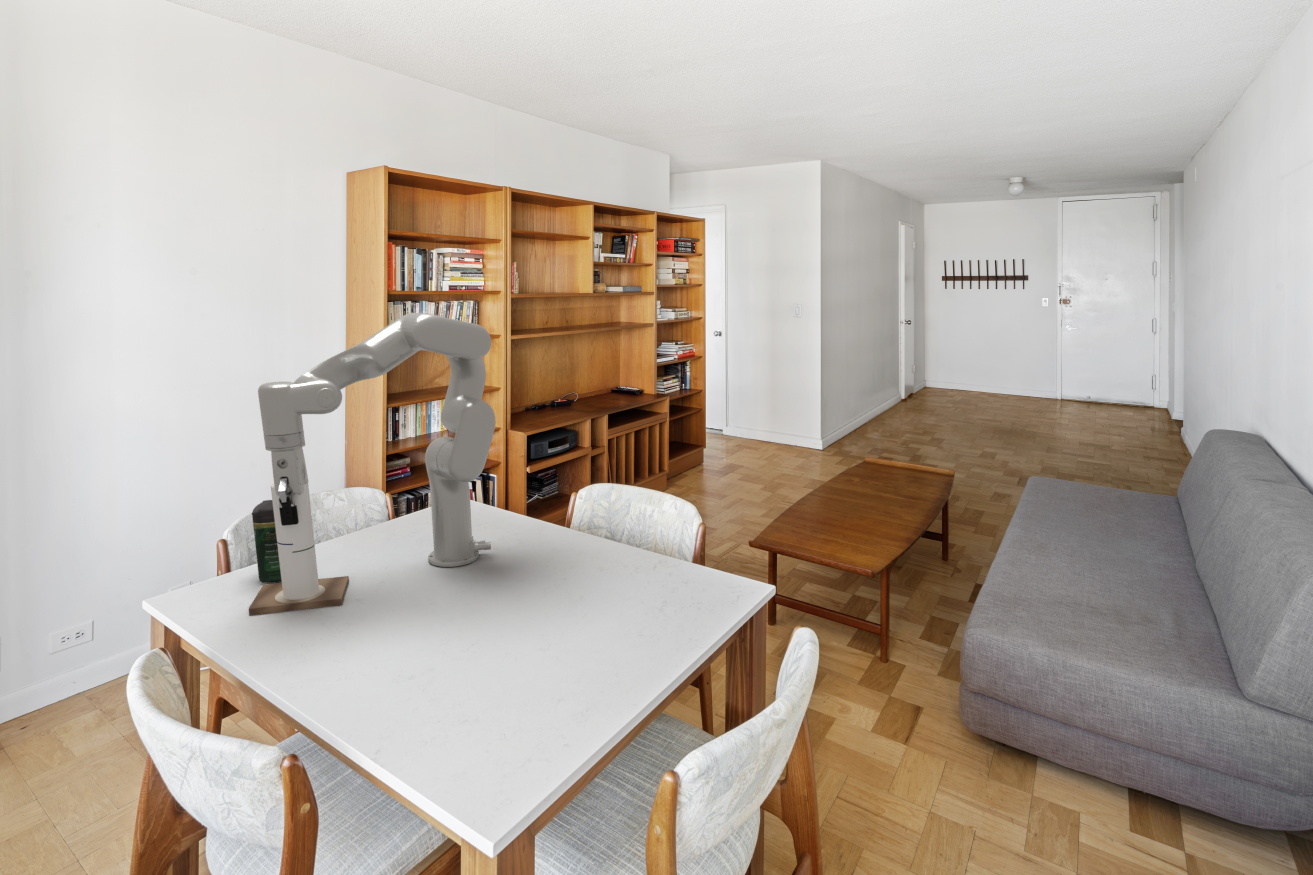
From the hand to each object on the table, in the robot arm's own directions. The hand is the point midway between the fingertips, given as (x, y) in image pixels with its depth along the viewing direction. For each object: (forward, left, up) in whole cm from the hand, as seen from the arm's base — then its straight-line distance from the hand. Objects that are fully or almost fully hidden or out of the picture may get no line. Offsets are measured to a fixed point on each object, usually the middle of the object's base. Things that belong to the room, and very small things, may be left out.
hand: (294, 517), depth 151 cm
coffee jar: (+8, -15, -19) cm, 26 cm away
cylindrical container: (0, 0, -18) cm, 18 cm away
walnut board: (0, -1, -19) cm, 19 cm away
